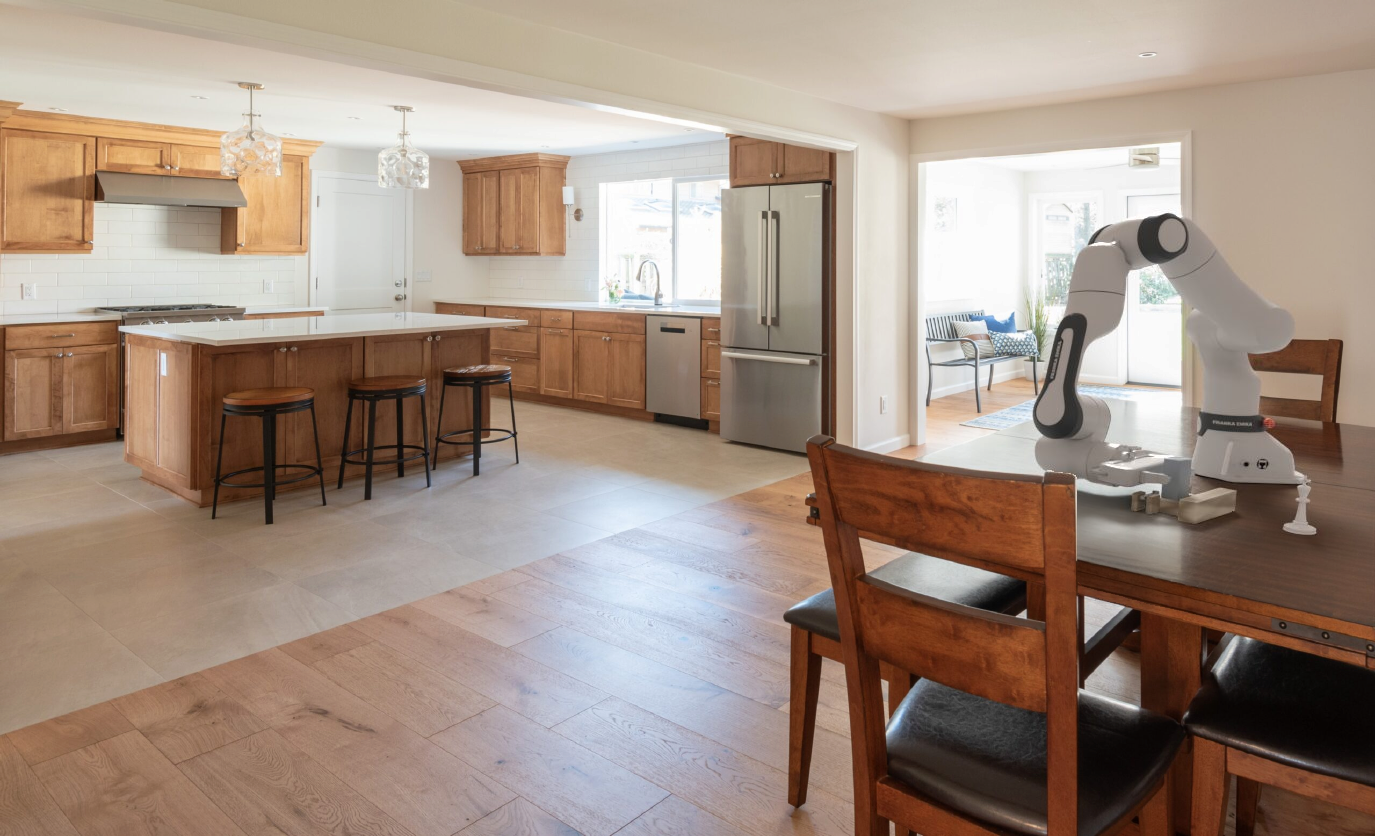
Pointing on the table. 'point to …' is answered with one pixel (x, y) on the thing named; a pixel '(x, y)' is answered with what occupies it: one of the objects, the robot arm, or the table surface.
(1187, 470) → the peg
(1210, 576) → the table surface
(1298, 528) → the chess piece
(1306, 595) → the table surface
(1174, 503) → the light wooden frame
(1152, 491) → the plunger
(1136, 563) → the table surface
